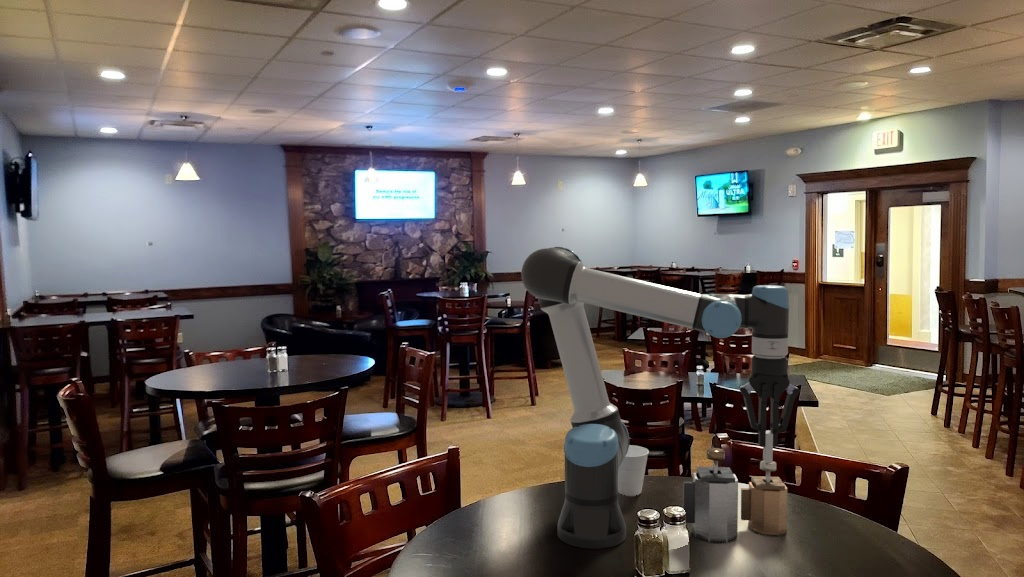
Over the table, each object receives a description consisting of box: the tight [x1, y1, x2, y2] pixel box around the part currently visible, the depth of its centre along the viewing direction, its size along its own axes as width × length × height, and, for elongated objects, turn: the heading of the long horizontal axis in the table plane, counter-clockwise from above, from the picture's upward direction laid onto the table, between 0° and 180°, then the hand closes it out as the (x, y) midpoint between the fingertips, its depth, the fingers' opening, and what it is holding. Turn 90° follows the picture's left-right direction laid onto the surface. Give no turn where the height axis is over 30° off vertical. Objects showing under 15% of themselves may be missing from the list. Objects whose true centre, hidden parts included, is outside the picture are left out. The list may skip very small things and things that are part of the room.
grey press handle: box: [759, 460, 777, 491], centre depth 162 cm, size 6×6×11 cm
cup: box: [618, 444, 650, 497], centre depth 186 cm, size 10×10×11 cm
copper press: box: [740, 475, 788, 538], centre depth 162 cm, size 10×8×11 cm
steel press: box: [682, 466, 739, 544], centre depth 160 cm, size 12×10×14 cm
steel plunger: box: [706, 447, 726, 483], centre depth 159 cm, size 7×7×13 cm
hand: (767, 460), depth 161 cm, fingers closed
